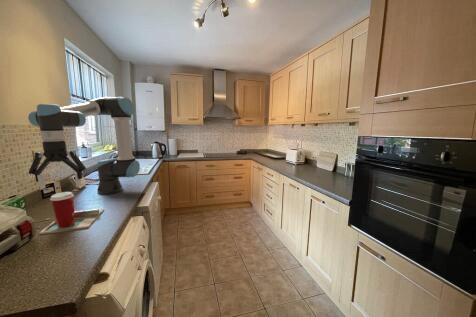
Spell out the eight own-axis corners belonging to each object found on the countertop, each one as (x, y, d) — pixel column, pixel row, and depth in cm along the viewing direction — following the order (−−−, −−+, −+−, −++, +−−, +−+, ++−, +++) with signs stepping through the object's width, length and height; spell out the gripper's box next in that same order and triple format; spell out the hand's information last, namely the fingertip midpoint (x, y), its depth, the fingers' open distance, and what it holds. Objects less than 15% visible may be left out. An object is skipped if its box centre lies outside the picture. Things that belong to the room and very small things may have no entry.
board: (64, 214, 104) (64, 213, 104) (103, 210, 109) (103, 209, 109) (39, 234, 85) (38, 232, 85) (88, 228, 90) (87, 226, 90)
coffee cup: (82, 221, 96) (78, 192, 94) (63, 230, 88) (58, 198, 86) (69, 219, 99) (64, 190, 96) (49, 227, 91) (44, 196, 88)
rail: (57, 218, 98) (56, 213, 98) (99, 214, 103) (98, 208, 103) (55, 220, 97) (54, 214, 96) (98, 215, 102) (97, 209, 101)
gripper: (10, 142, 80) (20, 192, 84) (83, 140, 87) (89, 187, 91) (24, 140, 87) (32, 187, 91) (90, 139, 94) (96, 182, 98)
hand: (61, 187), depth 91 cm, fingers open, 13 cm apart
